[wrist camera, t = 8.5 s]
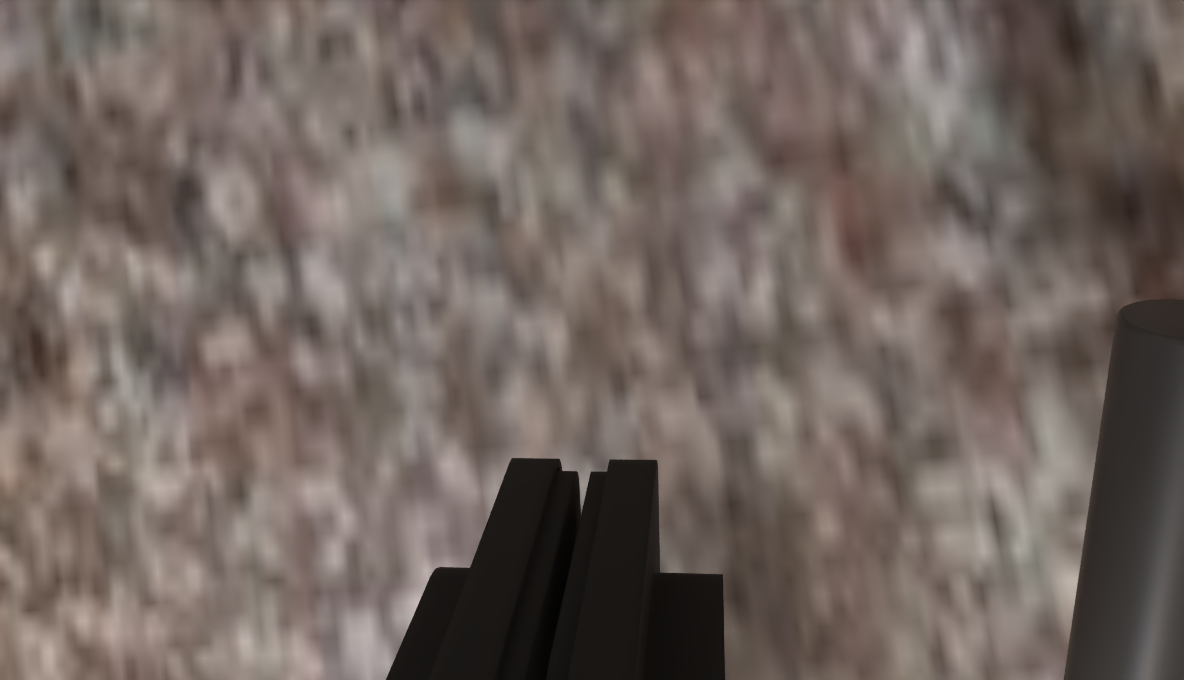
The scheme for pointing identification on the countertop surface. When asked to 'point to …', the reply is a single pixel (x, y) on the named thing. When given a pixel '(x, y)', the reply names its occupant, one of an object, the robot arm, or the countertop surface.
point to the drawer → (1136, 509)
